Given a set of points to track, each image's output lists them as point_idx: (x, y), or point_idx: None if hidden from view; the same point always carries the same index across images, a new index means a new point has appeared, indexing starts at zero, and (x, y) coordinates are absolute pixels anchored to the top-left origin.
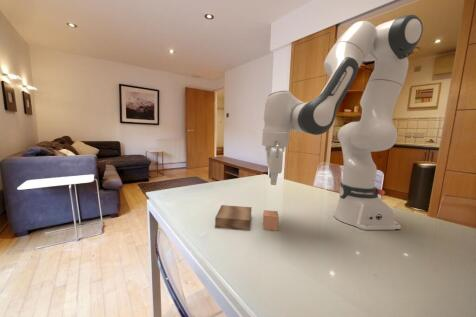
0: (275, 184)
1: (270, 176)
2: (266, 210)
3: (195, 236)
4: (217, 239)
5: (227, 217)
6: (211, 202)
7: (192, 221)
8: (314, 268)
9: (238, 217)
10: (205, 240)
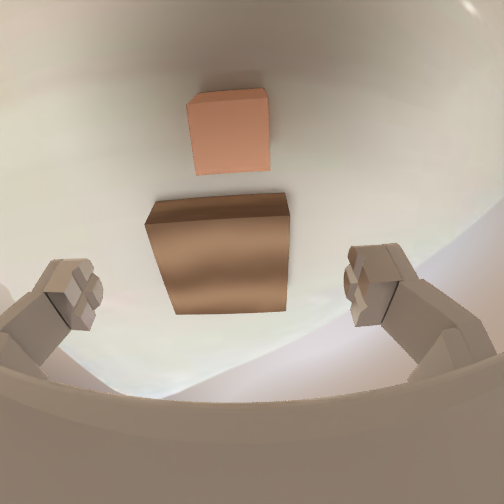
0: (397, 249)
1: (94, 297)
2: (196, 161)
3: (333, 307)
4: None
5: (279, 285)
6: (114, 321)
7: (256, 331)
8: (462, 37)
9: (272, 256)
10: None
